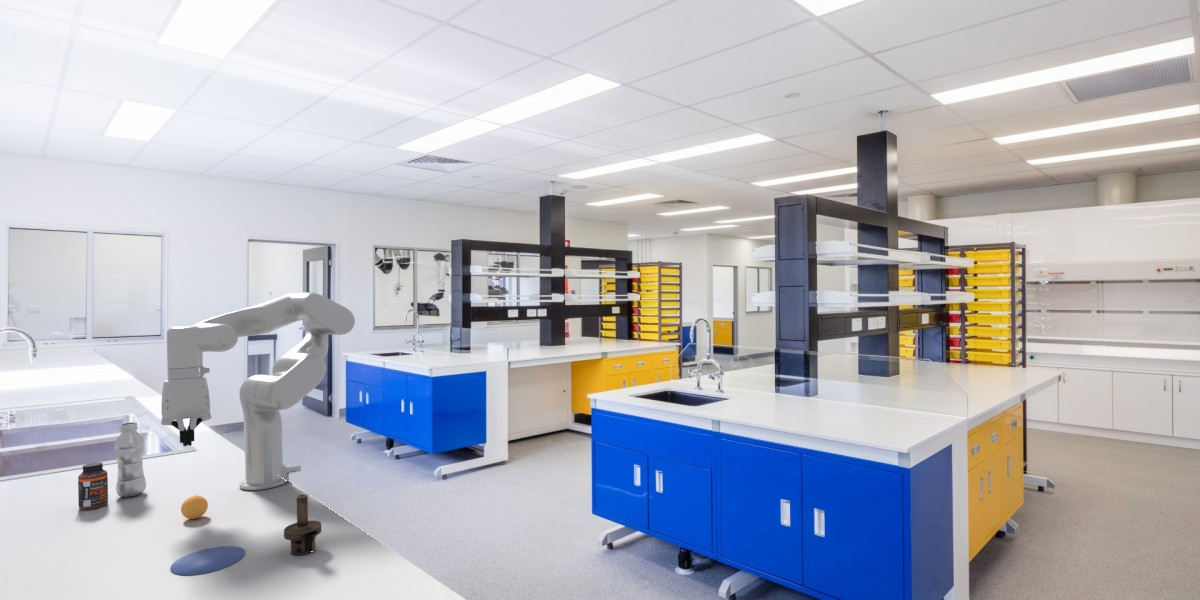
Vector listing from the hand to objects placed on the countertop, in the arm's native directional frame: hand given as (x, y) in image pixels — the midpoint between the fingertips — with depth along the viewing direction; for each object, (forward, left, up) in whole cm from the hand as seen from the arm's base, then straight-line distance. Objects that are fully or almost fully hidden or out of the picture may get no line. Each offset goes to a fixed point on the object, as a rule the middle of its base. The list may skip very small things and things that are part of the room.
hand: (187, 444), depth 156 cm
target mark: (+1, +39, -17) cm, 43 cm away
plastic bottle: (+11, -23, -17) cm, 30 cm away
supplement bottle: (+19, -19, -17) cm, 31 cm away
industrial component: (-15, +47, -17) cm, 52 cm away
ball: (0, +9, -14) cm, 17 cm away
